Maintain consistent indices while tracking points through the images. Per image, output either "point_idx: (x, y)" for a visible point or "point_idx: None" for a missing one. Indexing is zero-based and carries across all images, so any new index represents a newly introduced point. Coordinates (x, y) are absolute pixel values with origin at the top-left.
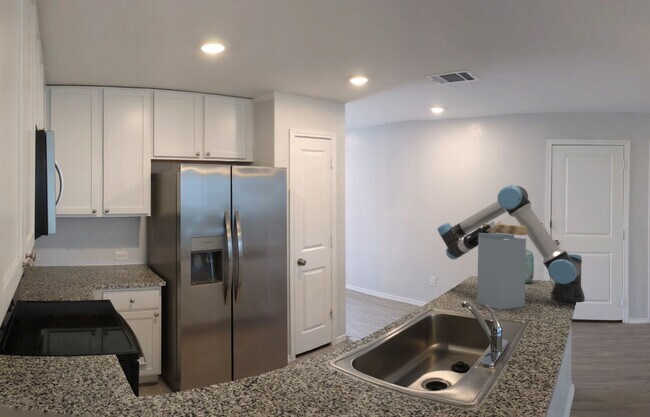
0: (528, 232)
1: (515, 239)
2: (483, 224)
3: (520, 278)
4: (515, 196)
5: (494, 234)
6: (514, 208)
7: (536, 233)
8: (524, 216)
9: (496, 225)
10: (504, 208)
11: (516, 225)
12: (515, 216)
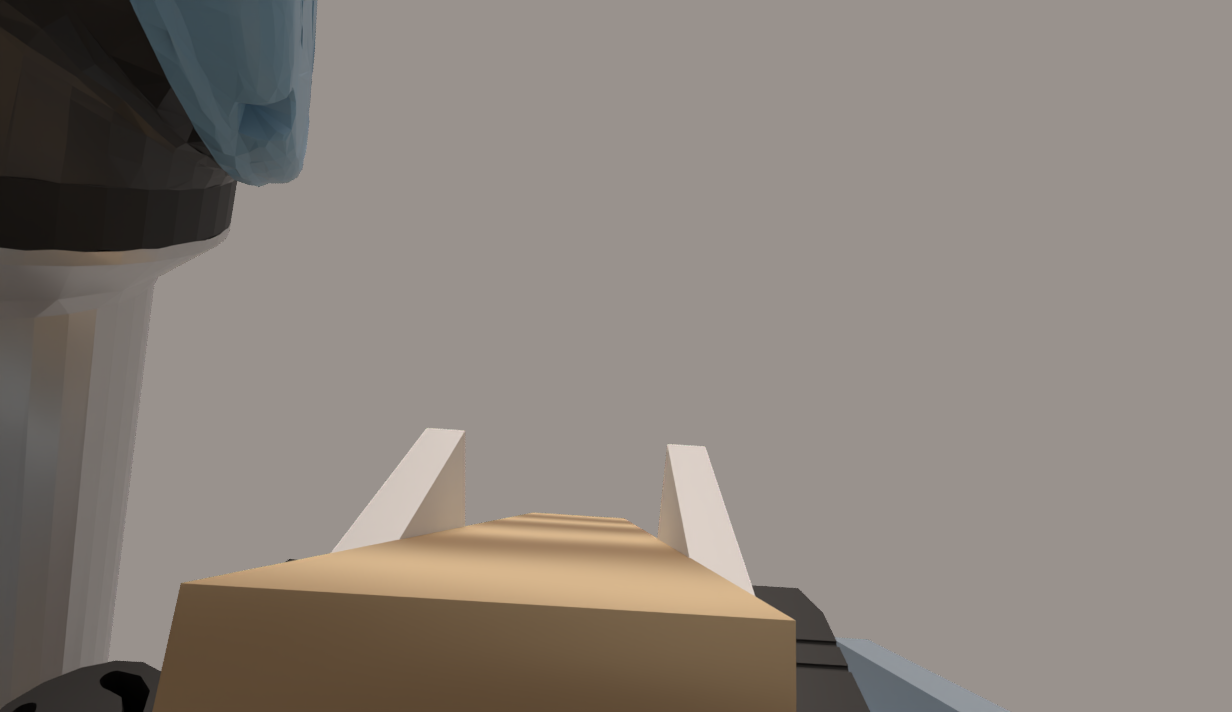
0: (50, 639)
1: None
2: (779, 694)
3: None
4: (312, 18)
5: (905, 674)
6: (228, 185)
7: (112, 619)
8: (144, 355)
9: None
10: (182, 68)
11: (517, 516)
12: (12, 314)
